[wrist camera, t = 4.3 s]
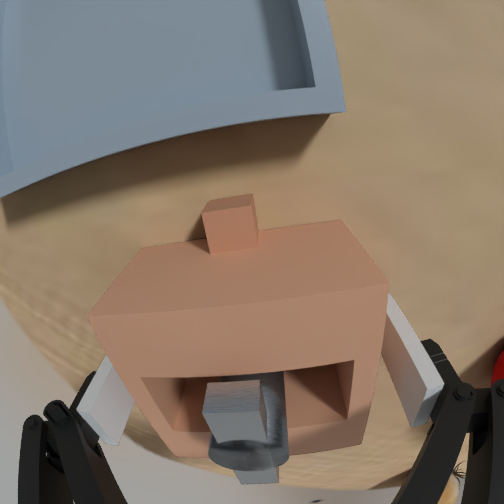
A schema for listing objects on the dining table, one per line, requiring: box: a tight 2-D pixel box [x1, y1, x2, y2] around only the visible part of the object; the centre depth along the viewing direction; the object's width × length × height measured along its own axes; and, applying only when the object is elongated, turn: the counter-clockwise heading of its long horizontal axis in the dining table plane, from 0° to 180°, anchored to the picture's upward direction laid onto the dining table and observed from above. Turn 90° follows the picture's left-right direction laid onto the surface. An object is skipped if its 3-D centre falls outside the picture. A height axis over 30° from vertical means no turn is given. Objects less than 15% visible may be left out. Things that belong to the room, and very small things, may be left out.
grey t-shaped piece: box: [202, 371, 289, 484], centre depth 12 cm, size 3×6×8 cm, turn 9°
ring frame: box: [87, 194, 389, 458], centre depth 13 cm, size 10×12×6 cm
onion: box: [401, 461, 466, 504], centre depth 23 cm, size 9×9×15 cm
